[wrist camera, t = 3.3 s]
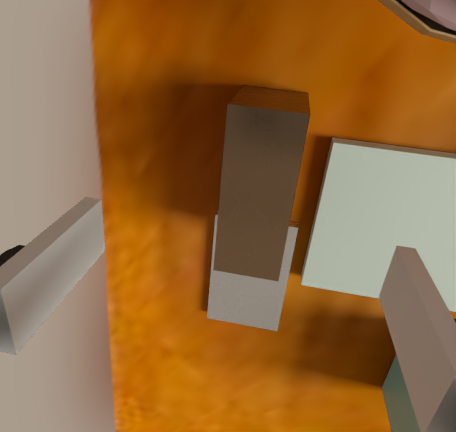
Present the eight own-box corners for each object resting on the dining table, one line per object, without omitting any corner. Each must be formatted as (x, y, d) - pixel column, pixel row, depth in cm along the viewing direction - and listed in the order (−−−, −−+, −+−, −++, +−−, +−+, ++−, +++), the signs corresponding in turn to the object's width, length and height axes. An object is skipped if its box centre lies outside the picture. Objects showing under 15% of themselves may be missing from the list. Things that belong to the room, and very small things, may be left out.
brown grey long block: (228, 83, 24) (207, 101, 18) (324, 94, 23) (331, 117, 18) (208, 311, 33) (191, 367, 27) (277, 324, 32) (273, 384, 27)
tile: (408, 319, 29) (454, 446, 21) (437, 325, 29) (495, 455, 20) (380, 387, 33) (408, 518, 24) (405, 392, 33) (442, 526, 24)
